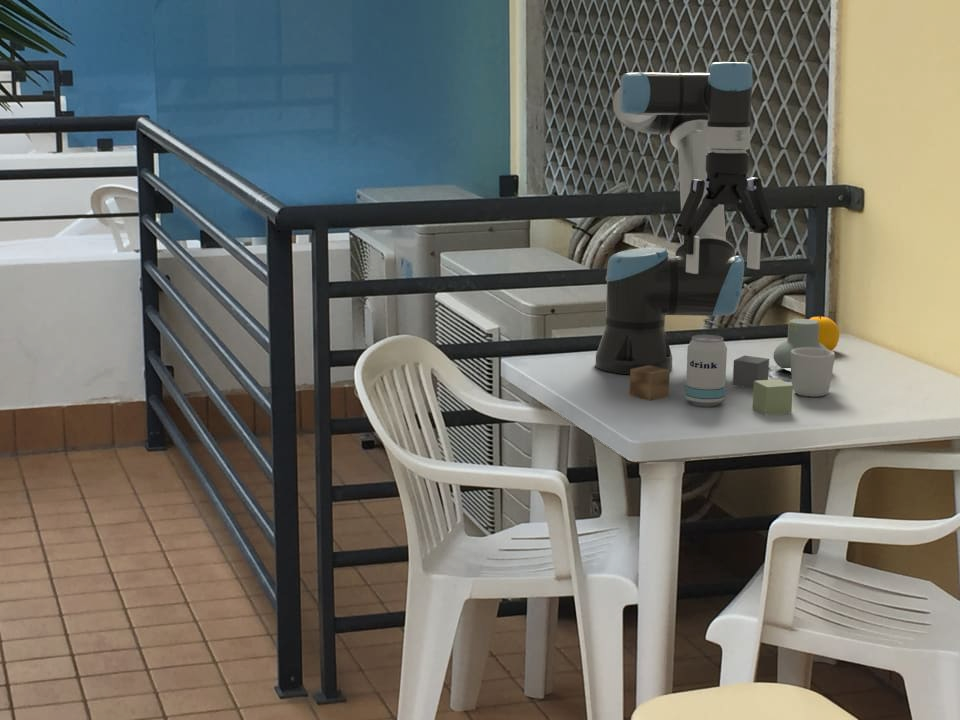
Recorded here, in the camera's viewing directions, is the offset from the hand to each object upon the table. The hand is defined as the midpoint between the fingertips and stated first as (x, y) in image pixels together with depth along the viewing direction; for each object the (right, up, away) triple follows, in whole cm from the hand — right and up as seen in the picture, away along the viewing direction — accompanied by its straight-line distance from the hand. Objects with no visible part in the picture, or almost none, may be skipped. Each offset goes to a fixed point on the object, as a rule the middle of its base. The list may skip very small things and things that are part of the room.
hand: (722, 270), depth 264 cm
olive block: (+8, -25, -4) cm, 26 cm away
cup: (+18, -22, +9) cm, 30 cm away
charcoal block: (+8, -21, +14) cm, 26 cm away
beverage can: (-3, -24, 0) cm, 24 cm away
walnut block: (-13, -23, +5) cm, 26 cm away
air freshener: (+20, -18, +26) cm, 37 cm away
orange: (+27, -14, +43) cm, 53 cm away
